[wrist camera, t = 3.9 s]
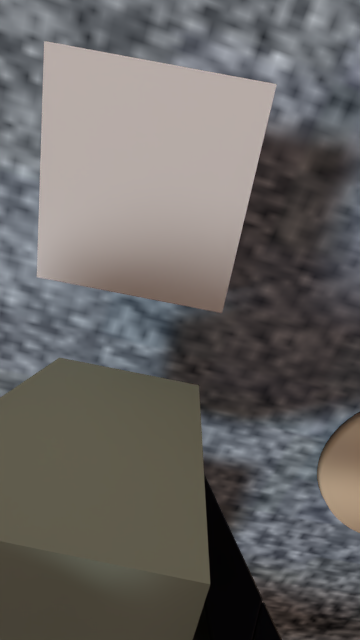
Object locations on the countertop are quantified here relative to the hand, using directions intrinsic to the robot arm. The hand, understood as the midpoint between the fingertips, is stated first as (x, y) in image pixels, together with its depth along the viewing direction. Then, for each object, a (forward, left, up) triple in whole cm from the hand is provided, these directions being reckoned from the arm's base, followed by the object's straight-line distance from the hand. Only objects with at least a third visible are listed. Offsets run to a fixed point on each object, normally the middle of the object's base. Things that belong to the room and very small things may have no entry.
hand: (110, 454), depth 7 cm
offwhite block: (+8, 0, -5) cm, 9 cm away
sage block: (0, 0, -1) cm, 1 cm away
